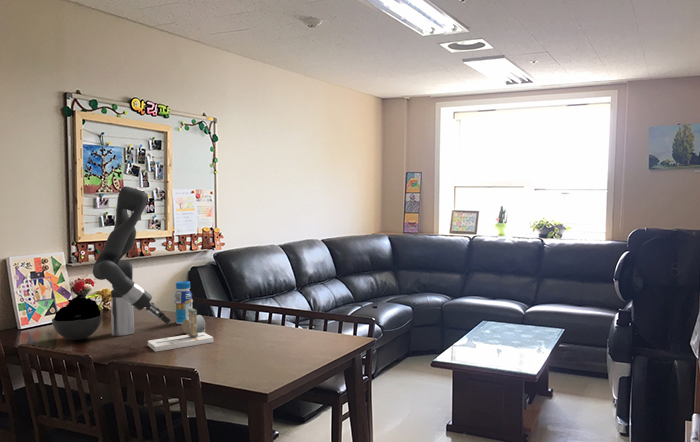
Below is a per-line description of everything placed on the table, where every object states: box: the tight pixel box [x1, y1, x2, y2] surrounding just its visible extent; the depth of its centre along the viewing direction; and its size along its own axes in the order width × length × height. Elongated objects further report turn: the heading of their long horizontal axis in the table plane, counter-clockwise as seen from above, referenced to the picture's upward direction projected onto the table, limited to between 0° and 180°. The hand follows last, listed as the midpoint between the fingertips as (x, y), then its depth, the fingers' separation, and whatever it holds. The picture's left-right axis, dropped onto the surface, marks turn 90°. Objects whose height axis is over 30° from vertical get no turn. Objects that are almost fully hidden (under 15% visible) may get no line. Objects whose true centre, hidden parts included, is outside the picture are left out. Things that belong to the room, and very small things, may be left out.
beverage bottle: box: [174, 280, 194, 325], centre depth 285 cm, size 8×8×20 cm
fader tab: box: [188, 307, 198, 338], centre depth 246 cm, size 3×6×12 cm, turn 33°
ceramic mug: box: [181, 314, 206, 335], centre depth 262 cm, size 11×8×8 cm
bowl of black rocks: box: [51, 294, 103, 341], centre depth 256 cm, size 20×20×19 cm
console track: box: [147, 331, 214, 352], centre depth 244 cm, size 24×12×2 cm, turn 123°
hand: (168, 322), depth 241 cm, fingers closed
